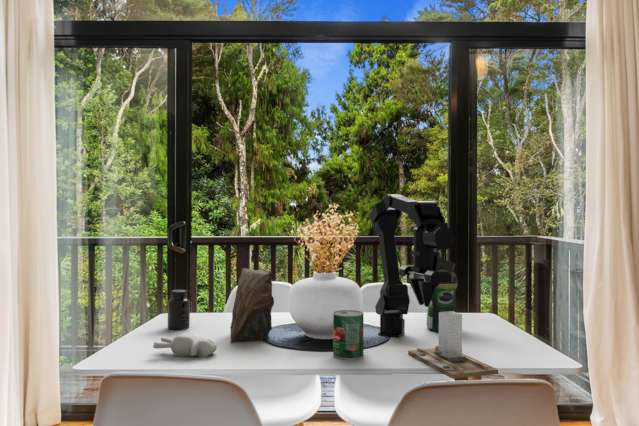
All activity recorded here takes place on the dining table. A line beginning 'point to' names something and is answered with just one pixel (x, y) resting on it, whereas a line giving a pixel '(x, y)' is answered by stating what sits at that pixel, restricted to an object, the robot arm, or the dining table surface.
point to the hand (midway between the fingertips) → (424, 305)
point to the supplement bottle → (178, 310)
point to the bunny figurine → (187, 345)
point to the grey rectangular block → (450, 337)
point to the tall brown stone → (252, 307)
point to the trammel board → (452, 364)
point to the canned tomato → (348, 334)
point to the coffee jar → (442, 302)
